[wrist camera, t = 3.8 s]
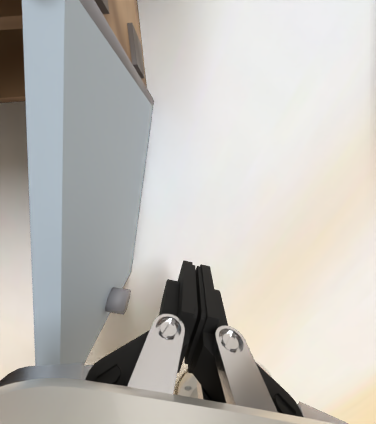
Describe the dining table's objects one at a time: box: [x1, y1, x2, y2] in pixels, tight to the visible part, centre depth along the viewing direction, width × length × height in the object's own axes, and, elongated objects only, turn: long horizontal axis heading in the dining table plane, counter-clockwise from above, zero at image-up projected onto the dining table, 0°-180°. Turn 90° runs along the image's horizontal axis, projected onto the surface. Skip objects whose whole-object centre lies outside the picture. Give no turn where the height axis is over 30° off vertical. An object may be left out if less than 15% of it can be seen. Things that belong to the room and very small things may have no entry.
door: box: [22, 0, 154, 366], centre depth 11 cm, size 2×16×11 cm, turn 169°
